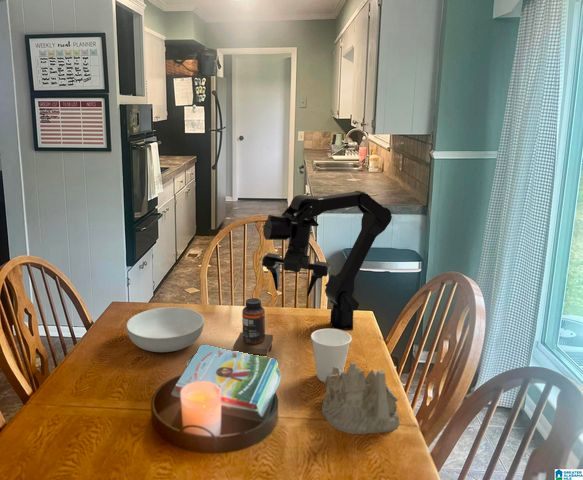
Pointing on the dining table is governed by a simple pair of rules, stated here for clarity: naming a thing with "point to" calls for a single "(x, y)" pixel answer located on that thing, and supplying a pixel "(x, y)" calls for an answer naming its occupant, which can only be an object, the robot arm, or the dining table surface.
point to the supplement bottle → (253, 322)
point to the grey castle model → (359, 402)
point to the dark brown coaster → (254, 345)
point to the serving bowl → (165, 328)
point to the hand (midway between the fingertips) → (292, 293)
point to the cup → (329, 350)
